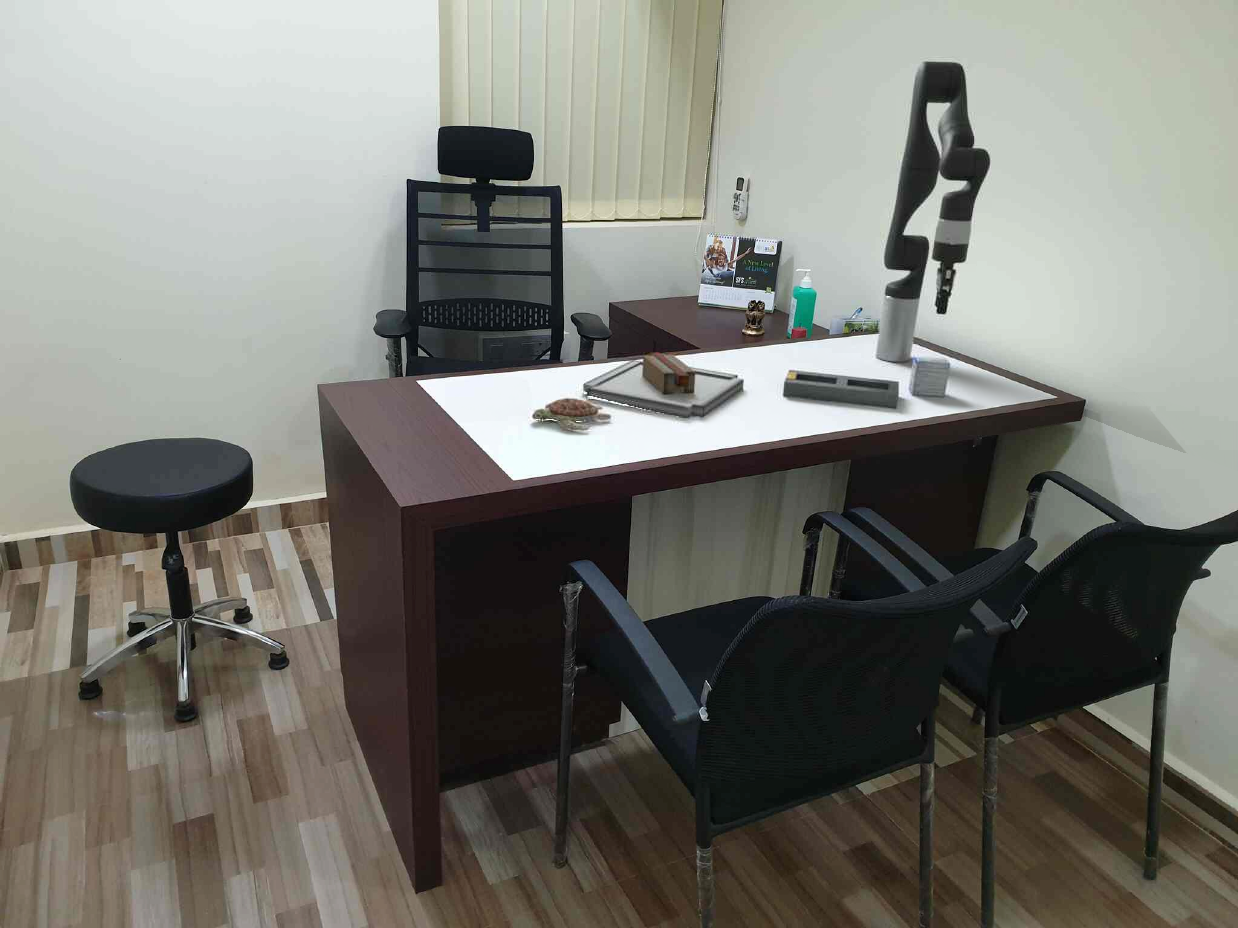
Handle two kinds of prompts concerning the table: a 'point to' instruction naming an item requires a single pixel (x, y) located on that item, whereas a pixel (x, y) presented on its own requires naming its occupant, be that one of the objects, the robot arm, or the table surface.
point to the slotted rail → (841, 389)
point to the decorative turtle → (570, 413)
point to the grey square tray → (665, 386)
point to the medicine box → (929, 376)
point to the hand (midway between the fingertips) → (940, 310)
